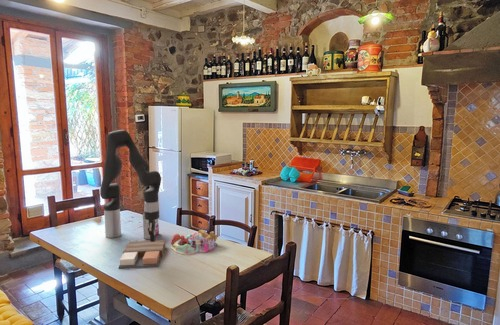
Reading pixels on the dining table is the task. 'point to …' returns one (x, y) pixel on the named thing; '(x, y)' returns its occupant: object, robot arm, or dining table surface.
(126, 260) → the cream tile
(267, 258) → the dining table surface
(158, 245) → the walnut board
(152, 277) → the dining table surface
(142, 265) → the rubber mat
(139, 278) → the dining table surface
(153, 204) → the robot arm
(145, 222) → the candy bar box
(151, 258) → the terracotta tile
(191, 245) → the candy landscape model
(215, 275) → the dining table surface
